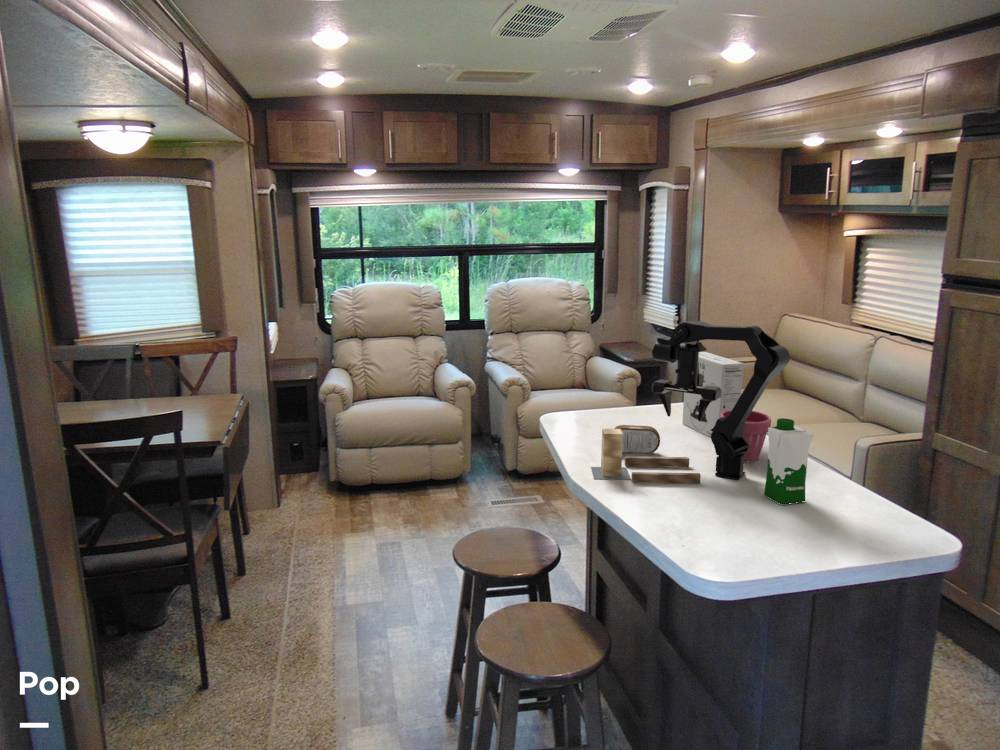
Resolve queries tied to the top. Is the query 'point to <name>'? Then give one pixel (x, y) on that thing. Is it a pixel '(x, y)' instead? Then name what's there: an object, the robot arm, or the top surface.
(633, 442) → the tin
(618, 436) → the oak block
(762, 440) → the plant pot
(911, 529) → the top surface
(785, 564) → the top surface
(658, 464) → the plinth rails
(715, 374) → the cereal box
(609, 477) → the mat
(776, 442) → the milk carton
